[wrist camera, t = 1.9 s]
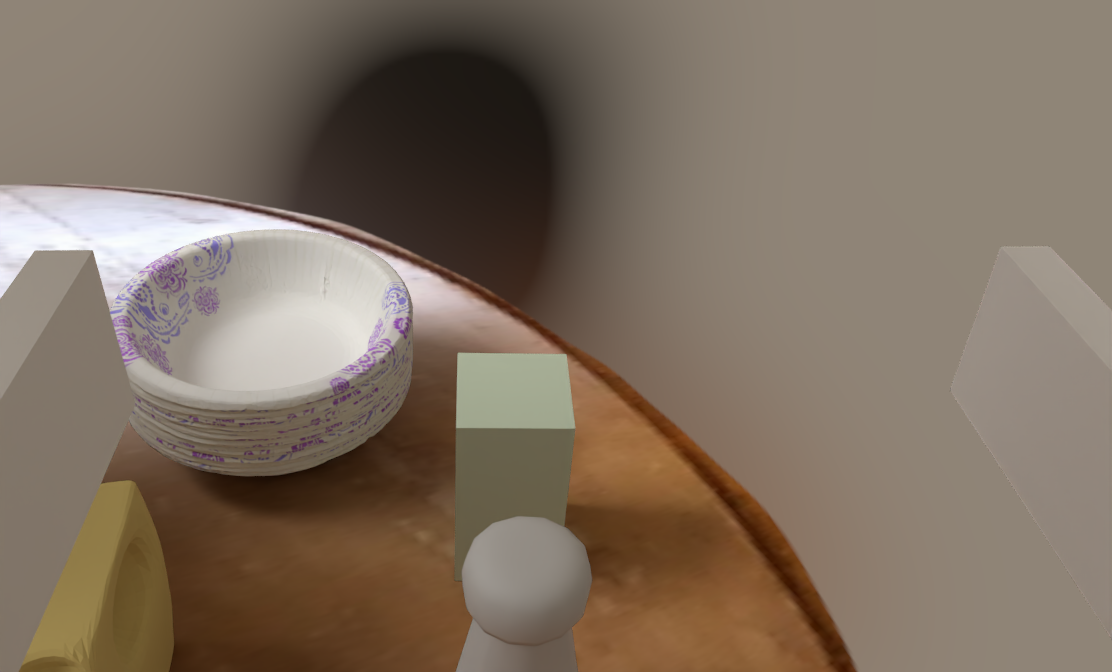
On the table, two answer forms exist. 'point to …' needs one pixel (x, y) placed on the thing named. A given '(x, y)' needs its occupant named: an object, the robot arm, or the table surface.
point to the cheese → (109, 595)
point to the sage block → (510, 441)
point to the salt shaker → (524, 597)
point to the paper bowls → (264, 350)
